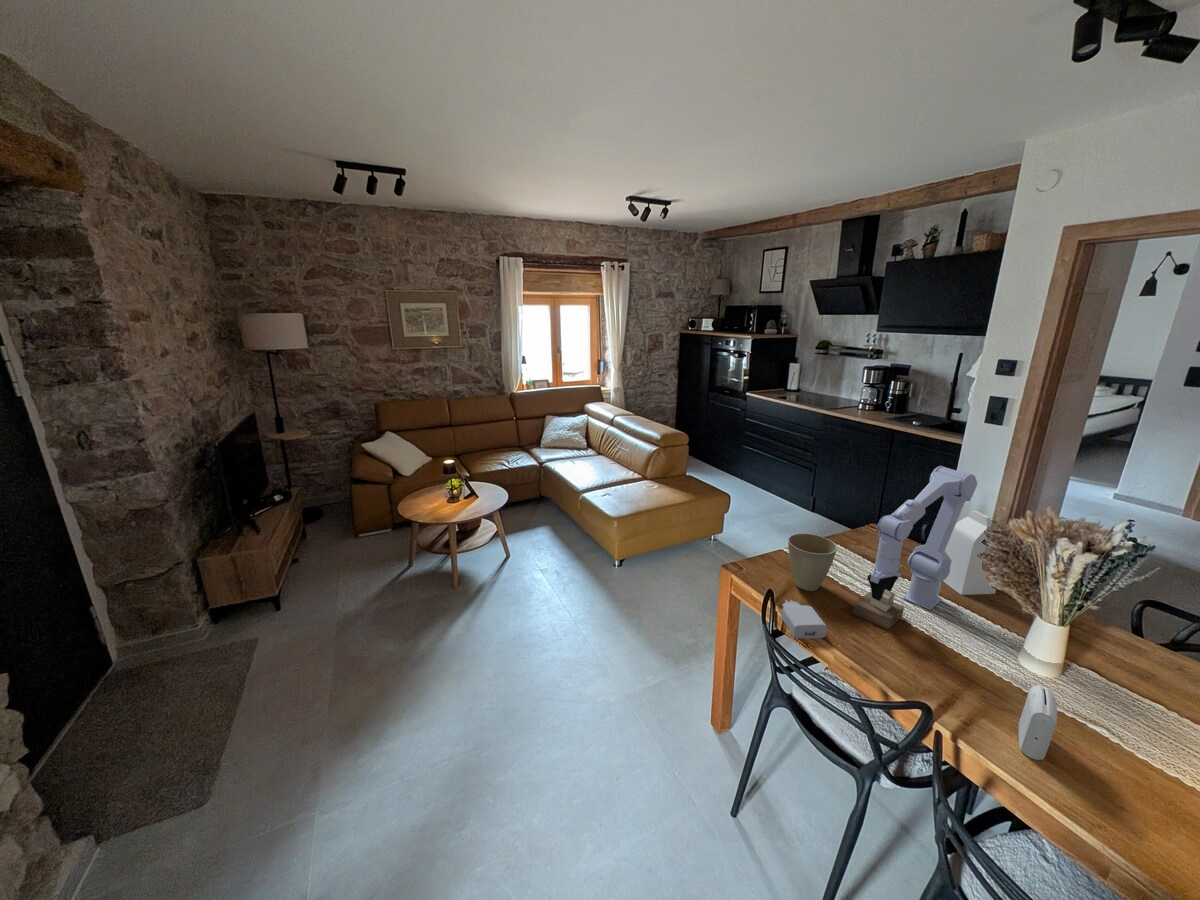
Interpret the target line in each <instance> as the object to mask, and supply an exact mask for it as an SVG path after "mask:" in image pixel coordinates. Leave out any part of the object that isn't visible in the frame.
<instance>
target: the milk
mask: <svg viewBox="0 0 1200 900" xmlns="http://www.w3.org/2000/svg"><path fill="white" fill-rule="evenodd" d="M991 526H992V522H991V517H989V516H987V515H986V514H983V513H982V512H980V511H978V510H975V509H974V510H973V509H972V510H971V511H970V512H969V513H968V514H967V516H965V517H964V518H962V519H960V520H959V521H957V522H956V525H955V527H954V530H953V532H952V534H951V537H950V539H949V542H948V544H947V546H946V549H945V552H946V553H947V555H948V556H949V557H950V559H951V560H952V562H951V566H950V573H949V575H948V577H947V578H946V579H945V580H943V581H942V582H944V583H945V584H946V585H947V586H948V587H950V588H951V589H953V590H954V591H956V592H957V593H958V594H959V595H961V596H963V595H964V596H965V595H966V596H967V595H993V594H996V591H997V588H996V589H994V588H992V587H989V586H988V585H987V579H986V574H985V572H984V571H983V569H982V561H981V559H980V558H979V557H977V556H976V555H977V554H980V553H983V552H984V551H985V548H986V547H985V545H984V544H983V543H981V542H982V541H983V540H984V539H985V537H986V535H985V534H984V531H987V530H989V529H990V528H991Z"/></svg>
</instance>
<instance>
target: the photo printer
mask: <svg viewBox="0 0 1200 900" xmlns="http://www.w3.org/2000/svg"><path fill="white" fill-rule="evenodd" d="M1057 722H1058V706H1057V702H1056V698H1055V695H1054V694H1053V693H1052V691H1051V690H1050V689H1049V688H1048V687H1044V686H1042V685H1039V684H1036V685H1033V686H1031V687H1030V689H1029V691H1028V693H1027V697H1026V700H1025V703H1024V706H1023V709H1022V712H1021V715H1020V718H1019V722H1018V746H1019V751H1021V752H1022V753H1023V754H1024V755H1025V756H1027V757H1028V758H1030V759H1033V760H1036V761H1044V760H1045V757H1046V755H1047V753H1048V749H1049V747H1050V744H1051V742H1052V737H1053V735H1054V732H1055V730H1056V726H1057V724H1058V723H1057Z"/></svg>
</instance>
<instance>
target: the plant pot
mask: <svg viewBox="0 0 1200 900" xmlns="http://www.w3.org/2000/svg"><path fill="white" fill-rule="evenodd" d="M787 542H788V543H787V544H788V547H787V548H788V557H789V565H790V568H791V573H792V578H793V582H794V585H796V587H798V588H799V589H801V590H804V591H807V592H808V591H809V592H815V591H817V590H818V589H820V586H821V585H822V584H823V582H824V580H825V579H826V577H827V575H828V573H829V572H830V569H831V566H832V564H833V562H834V560H835V557H836V553H837V551H838V546H837V544H836V543H835V542H834V541H832V540H830V539H828V538H826V537H824V536H822V535H818V534H814V533H806V532H805V533H801V532H800V533H795V534H792V535H790V536H789V537H788V539H787Z"/></svg>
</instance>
